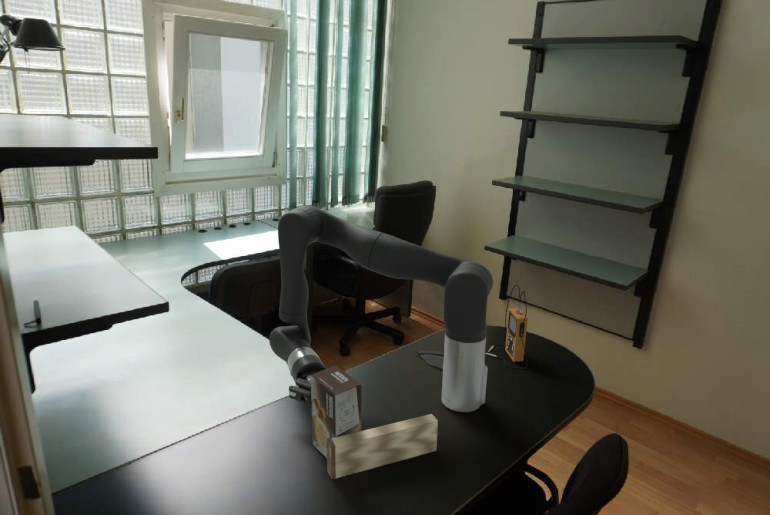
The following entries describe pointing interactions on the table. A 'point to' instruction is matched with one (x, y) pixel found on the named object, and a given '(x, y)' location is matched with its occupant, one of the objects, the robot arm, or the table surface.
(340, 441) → the board
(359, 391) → the coffee box
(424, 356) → the curved wedge
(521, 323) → the multimeter
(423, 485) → the table surface
